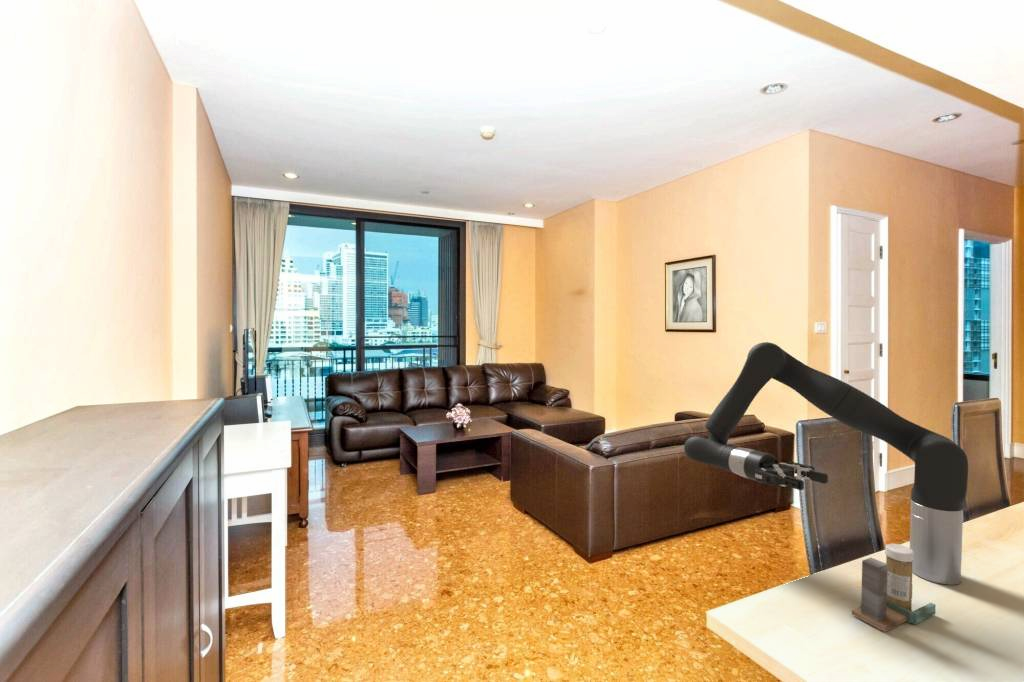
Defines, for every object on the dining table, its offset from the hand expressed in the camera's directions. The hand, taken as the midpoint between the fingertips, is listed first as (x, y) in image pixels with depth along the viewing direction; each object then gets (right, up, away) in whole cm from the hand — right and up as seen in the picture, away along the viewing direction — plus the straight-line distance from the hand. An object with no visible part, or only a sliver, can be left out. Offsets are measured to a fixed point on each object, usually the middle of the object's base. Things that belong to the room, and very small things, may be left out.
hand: (815, 482), depth 108 cm
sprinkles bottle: (+12, -25, -8) cm, 29 cm away
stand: (+9, -24, -9) cm, 28 cm away
